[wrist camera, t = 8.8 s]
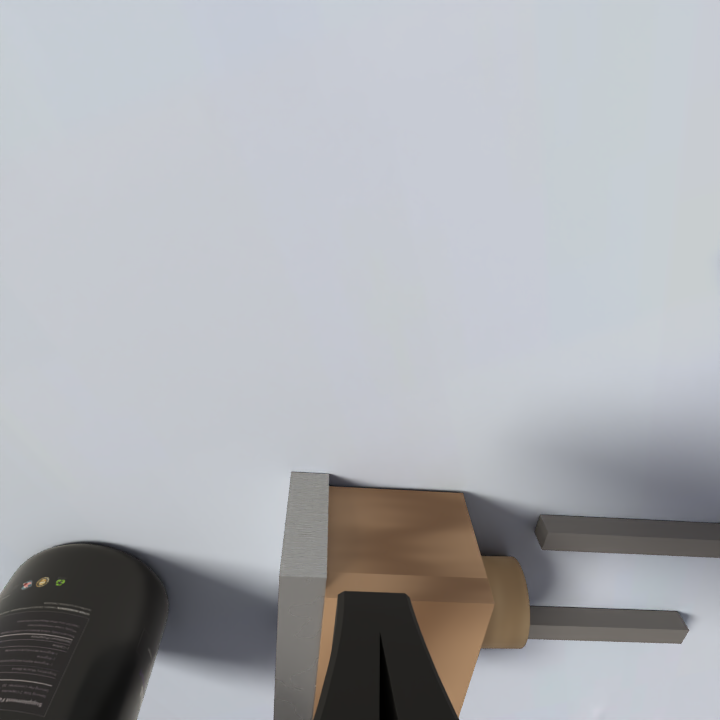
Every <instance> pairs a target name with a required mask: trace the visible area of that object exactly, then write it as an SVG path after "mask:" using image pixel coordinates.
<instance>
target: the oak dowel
mask: <svg viewBox="0 0 720 720" xmlns="http://www.w3.org/2000/svg"><path fill="white" fill-rule="evenodd" d="M481 558H482V561H483V565H484V568H485V571H486V575H487V578H488V582H489V585H490V589H491V592H492V596H493V599H494V603H495V605H494V608H493V611H492V614H491V617H490V621H489V624H488V627H487V630H486V633H485V636H484V639H483V642H482V646H481V648H501V649H521V648H523V647H524V646H525V644H526V642H527V639H528V635H529V628H530V604H529V595H528V589H527V584H526V580H525V577H524V574H523V571H522V568H521V566H520V564H519V562H518V561H517V560H516V558H514V557H512V556H481Z"/></svg>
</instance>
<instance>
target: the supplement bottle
mask: <svg viewBox="0 0 720 720" xmlns="http://www.w3.org/2000/svg"><path fill="white" fill-rule="evenodd" d="M168 611H169V603H168V597H167V593H166V591H165V588H164V586H163V584H162V582H161V581H160V579H159V578H158V576H157V575H156V574H155V573H154V572H153V571H152V570H151V569H150V568H149V567H148V566H147V565H145V564H144V563H143V562H141V561H140V560H138V559H137V558H135V557H133V556H131V555H129V554H127V553H125V552H123V551H120V550H117V549H114V548H111V547H107V546H102V545H96V544H67V545H61V546H56V547H53V548H50V549H47V550H44V551H42V552H40V553H38V554H36V555H34V556H32V557H31V558H29V559H28V560H27V561H26V562H24V563H23V564H22V565H21V566H20V567H19V568H18V569H17V571H16V572H15V573H14V574H13V576H12V577H11V579H10V580H9V582H8V583H7V585H6V586H5V588H4V589H3V591H2V592H1V594H0V720H137V717H138V714H139V711H140V707H141V704H142V701H143V698H144V694H145V691H146V688H147V685H148V681H149V678H150V675H151V672H152V668H153V665H154V662H155V659H156V655H157V652H158V649H159V645H160V642H161V639H162V635H163V632H164V628H165V625H166V621H167V617H168Z"/></svg>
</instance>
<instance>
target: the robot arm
mask: <svg viewBox="0 0 720 720" xmlns="http://www.w3.org/2000/svg"><path fill="white" fill-rule="evenodd" d="M313 720H459V718H458V716H457V714H456V712H455V710H454V708H453V705H452V703H451V701H450V699H449V697H448V695H447V692H446V690H445V688H444V686H443V684H442V682H441V679H440V677H439V675H438V672H437V670H436V668H435V665H434V663H433V661H432V658H431V656H430V653H429V651H428V648H427V646H426V643H425V641H424V638H423V635H422V633H421V630H420V627H419V624H418V622H417V619H416V616H415V613H414V610H413V607H412V603H411V600H410V597H409V596H408V595H407V594H406V593H388V592H361V591H343V592H341V593H340V594H338V598H337V606H336V615H335V624H334V632H333V641H332V650H331V655H330V660H329V664H328V668H327V672H326V676H325V680H324V683H323V687H322V691H321V695H320V699H319V702H318V706H317V709H316V713H315V716H314V719H313Z"/></svg>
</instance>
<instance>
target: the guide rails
mask: <svg viewBox="0 0 720 720" xmlns="http://www.w3.org/2000/svg"><path fill="white" fill-rule="evenodd" d="M535 534H536V537H537V539H538V541H539V544H540V546H541V549H542V550H555V551H578V552H601V553H623V554H646V555H669V556H691V557H714V558H720V524H719V523H698V522H678V521H658V520H637V519H617V518H596V517H576V516H556V515H540V517H539V520H538V523H537V526H536V529H535ZM688 631H689V629H688V628H687V626H686V624H685V623H684V621H683V619H682V618H681V616H680V615H679V613H678V612H677V611H649V610H621V609H593V608H565V607H537V606H530V628H529V635H528V639H547V640H580V641H612V642H644V643H676V644H681V643H682V642H683V640H684V638H685V636H686V635H687V633H688Z"/></svg>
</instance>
